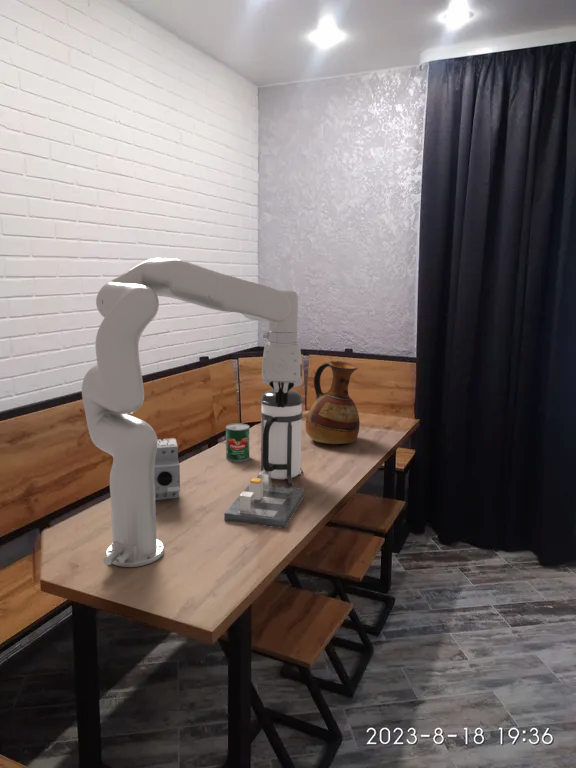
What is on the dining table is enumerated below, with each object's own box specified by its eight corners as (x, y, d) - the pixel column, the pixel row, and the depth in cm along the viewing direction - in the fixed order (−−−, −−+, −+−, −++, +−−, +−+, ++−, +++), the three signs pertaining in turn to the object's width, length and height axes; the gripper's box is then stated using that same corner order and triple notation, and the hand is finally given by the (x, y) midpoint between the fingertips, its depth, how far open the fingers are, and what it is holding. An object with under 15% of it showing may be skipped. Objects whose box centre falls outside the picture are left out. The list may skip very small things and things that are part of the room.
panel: (284, 528, 146) (285, 503, 144) (224, 520, 150) (224, 496, 148) (304, 495, 167) (305, 473, 165) (251, 489, 171) (251, 467, 169)
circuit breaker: (152, 509, 156) (150, 455, 153) (150, 489, 169) (148, 439, 166) (181, 506, 158) (179, 453, 155) (176, 487, 171) (175, 438, 168)
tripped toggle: (259, 500, 157) (259, 482, 156) (248, 499, 157) (249, 481, 156) (262, 496, 159) (263, 478, 158) (252, 494, 160) (252, 477, 159)
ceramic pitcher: (348, 452, 204) (351, 368, 198) (296, 444, 213) (297, 363, 207) (366, 438, 222) (369, 360, 216) (317, 430, 230) (319, 355, 224)
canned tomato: (242, 452, 203) (242, 422, 201) (253, 459, 196) (253, 427, 194) (221, 456, 199) (221, 425, 196) (232, 463, 192) (232, 430, 190)
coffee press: (247, 472, 184) (247, 378, 178) (295, 467, 189) (297, 376, 183) (263, 492, 168) (264, 390, 162) (315, 486, 173) (317, 387, 167)
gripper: (251, 338, 151) (250, 407, 155) (307, 341, 148) (305, 411, 151) (259, 335, 158) (259, 401, 162) (313, 337, 155) (312, 405, 158)
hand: (281, 406), depth 157 cm, fingers closed
